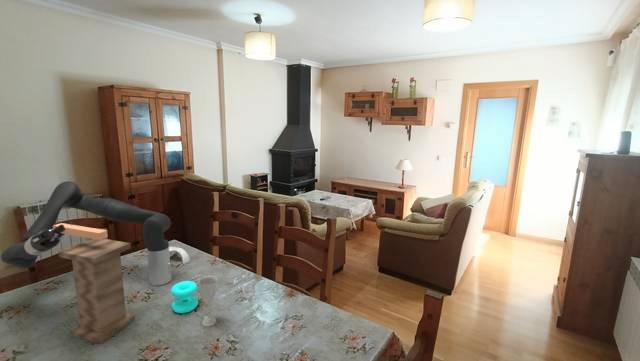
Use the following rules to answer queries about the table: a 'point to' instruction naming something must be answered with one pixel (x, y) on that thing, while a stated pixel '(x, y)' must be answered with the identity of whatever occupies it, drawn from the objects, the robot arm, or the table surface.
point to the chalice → (208, 296)
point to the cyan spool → (184, 297)
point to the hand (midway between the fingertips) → (68, 225)
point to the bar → (83, 231)
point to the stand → (99, 288)
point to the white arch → (184, 255)
